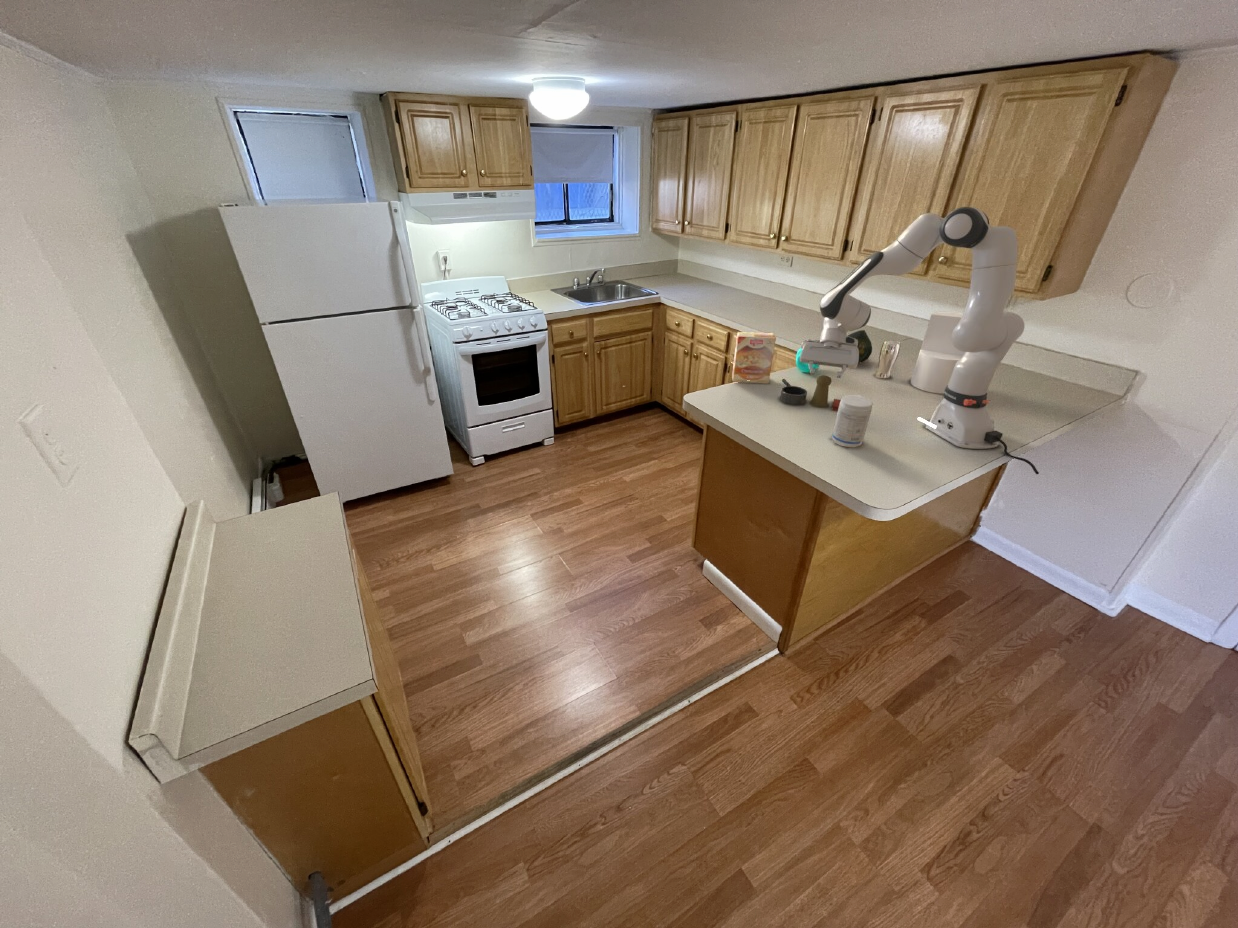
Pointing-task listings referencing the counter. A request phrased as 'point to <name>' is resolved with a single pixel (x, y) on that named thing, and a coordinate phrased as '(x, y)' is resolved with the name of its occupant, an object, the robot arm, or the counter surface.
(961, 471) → the counter surface
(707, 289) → the counter surface
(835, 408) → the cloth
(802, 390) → the pan
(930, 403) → the counter surface
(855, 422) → the supplement tub
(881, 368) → the beer glass
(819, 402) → the olive tall rounded piece
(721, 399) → the counter surface
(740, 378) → the coffeecake box
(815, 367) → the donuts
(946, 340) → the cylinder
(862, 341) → the squash
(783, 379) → the pan handle
